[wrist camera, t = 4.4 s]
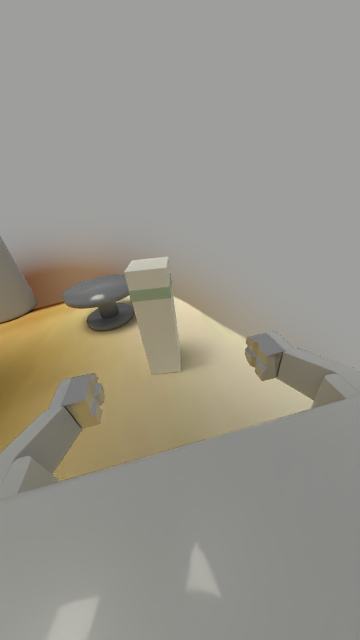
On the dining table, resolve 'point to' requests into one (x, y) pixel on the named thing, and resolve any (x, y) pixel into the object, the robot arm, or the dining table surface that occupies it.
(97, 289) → the pedestal
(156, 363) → the column
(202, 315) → the dining table surface
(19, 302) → the cylinder vase
